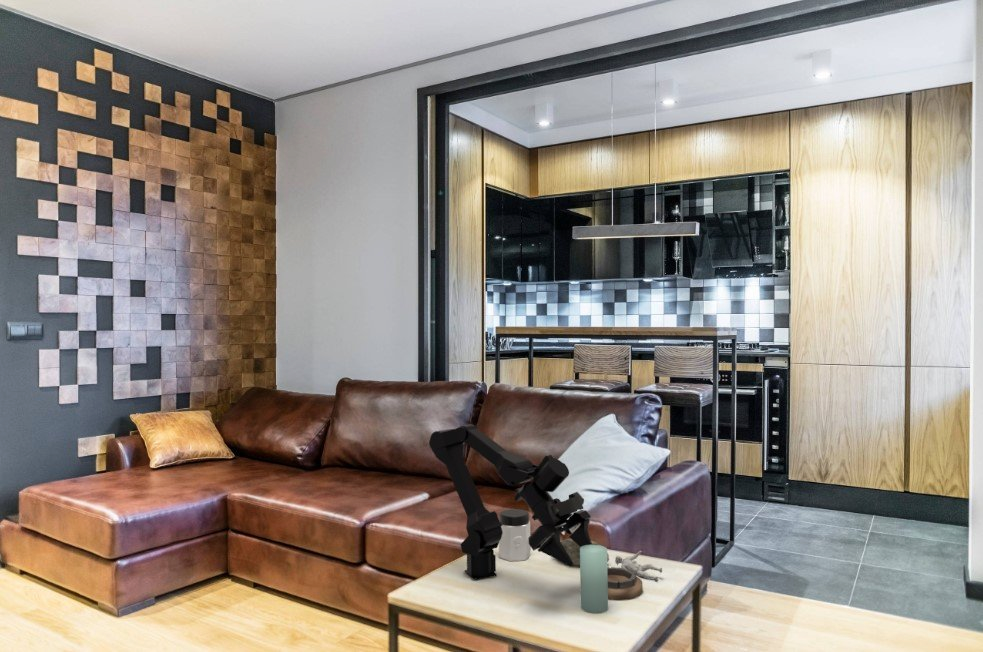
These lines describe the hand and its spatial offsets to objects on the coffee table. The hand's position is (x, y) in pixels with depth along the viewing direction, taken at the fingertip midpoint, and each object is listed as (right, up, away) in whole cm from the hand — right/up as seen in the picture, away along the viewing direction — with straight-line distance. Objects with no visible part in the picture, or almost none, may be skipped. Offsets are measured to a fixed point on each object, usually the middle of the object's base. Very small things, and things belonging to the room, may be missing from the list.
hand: (583, 560), depth 150 cm
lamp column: (+2, -10, -2) cm, 10 cm away
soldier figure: (+16, -10, +18) cm, 26 cm away
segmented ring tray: (+9, -10, +8) cm, 16 cm away
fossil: (+3, -11, +28) cm, 30 cm away
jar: (-14, -11, +33) cm, 38 cm away
